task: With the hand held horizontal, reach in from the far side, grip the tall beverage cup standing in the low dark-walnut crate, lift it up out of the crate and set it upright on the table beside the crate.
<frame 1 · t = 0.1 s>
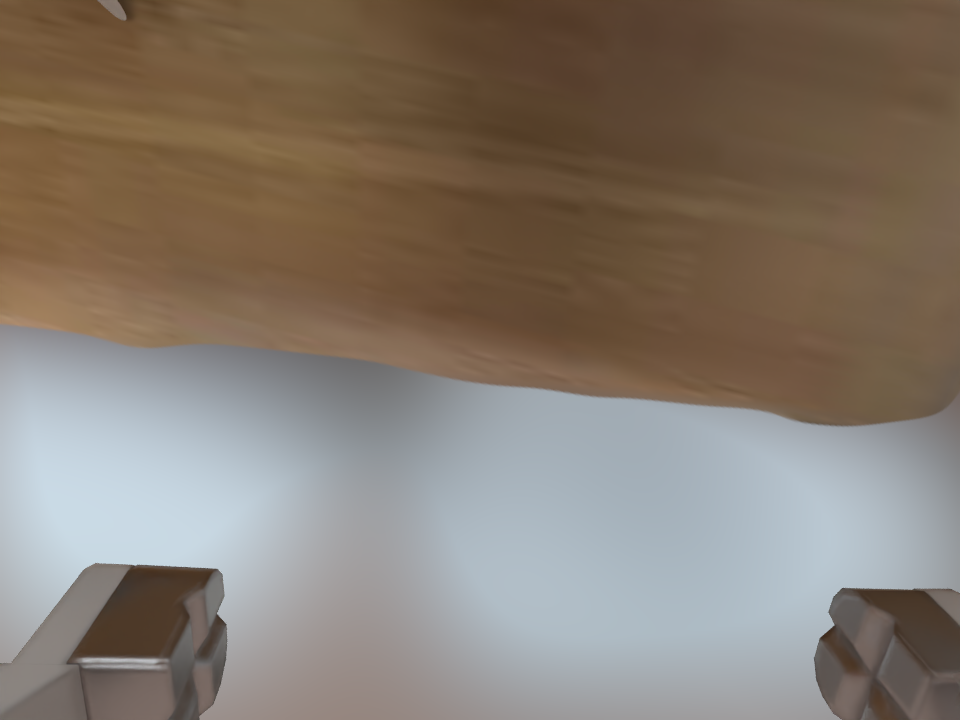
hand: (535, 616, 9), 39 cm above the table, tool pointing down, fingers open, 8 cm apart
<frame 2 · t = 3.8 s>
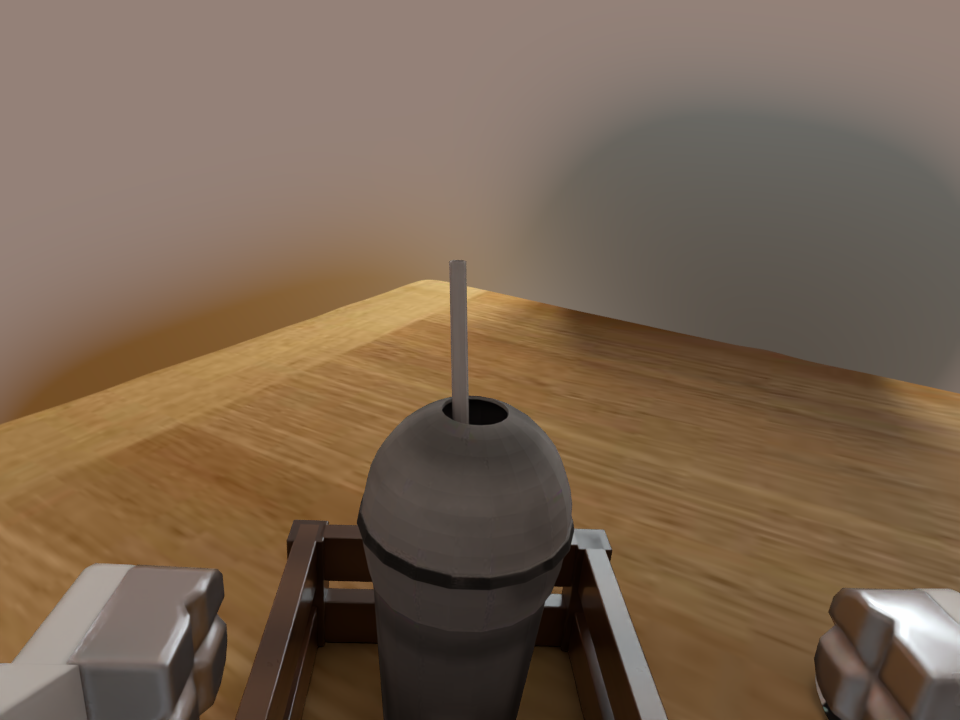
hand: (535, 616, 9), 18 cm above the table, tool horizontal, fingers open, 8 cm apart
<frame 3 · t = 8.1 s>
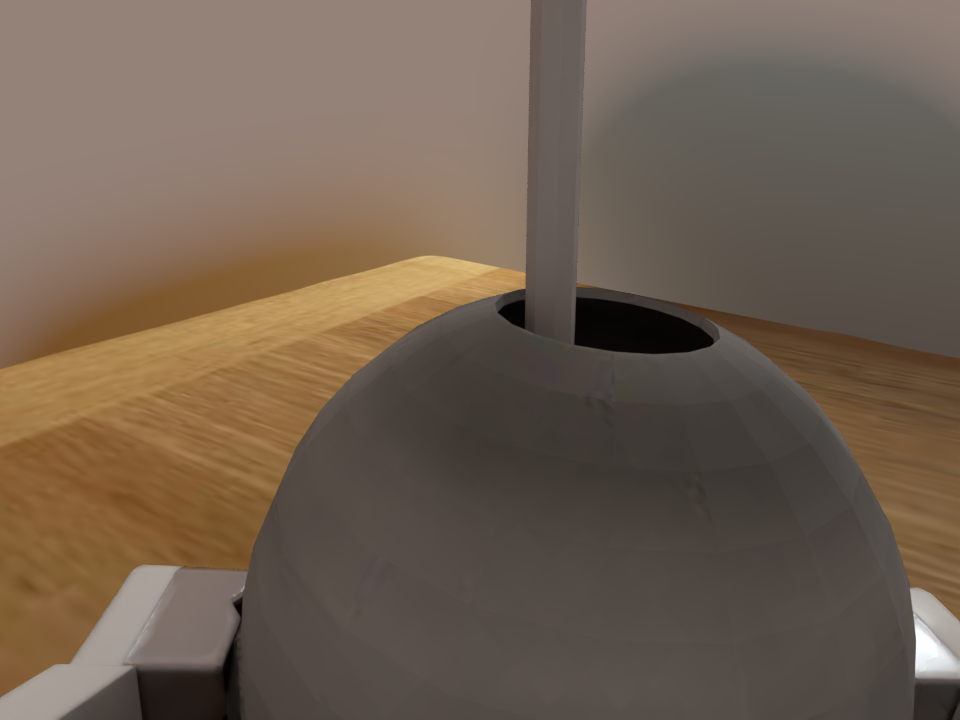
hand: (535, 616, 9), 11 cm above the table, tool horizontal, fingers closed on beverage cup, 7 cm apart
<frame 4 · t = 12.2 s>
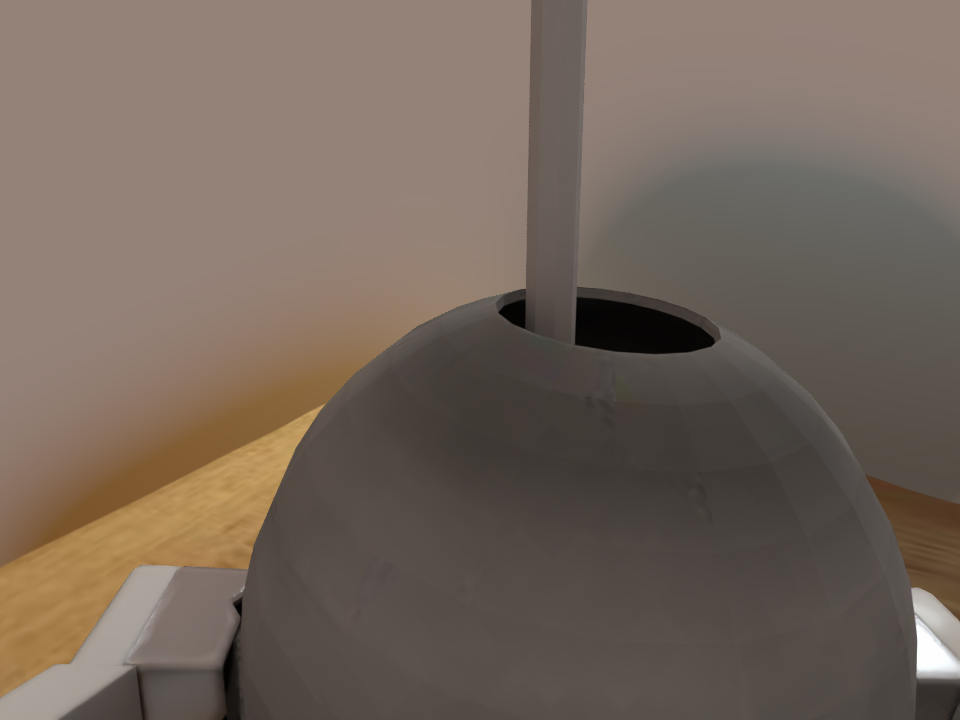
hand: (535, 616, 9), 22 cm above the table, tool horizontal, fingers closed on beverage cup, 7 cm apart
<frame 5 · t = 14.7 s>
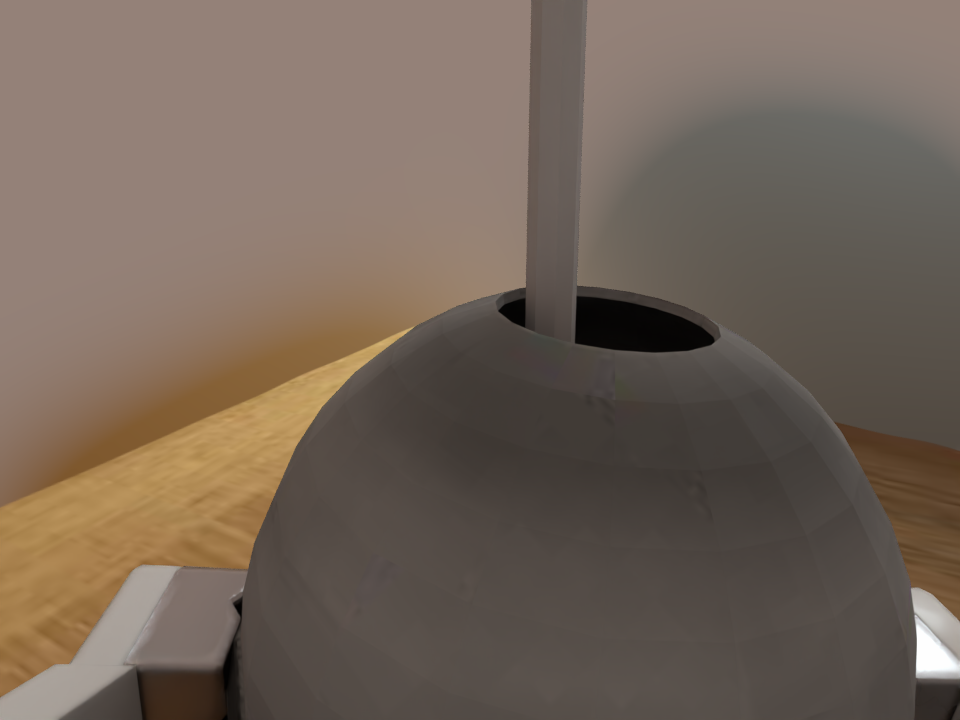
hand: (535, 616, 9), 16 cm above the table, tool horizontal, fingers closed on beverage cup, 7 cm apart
when the fingers open (11 cm above the table, at t = 16.7 s): beverage cup stays where it is, on the table.
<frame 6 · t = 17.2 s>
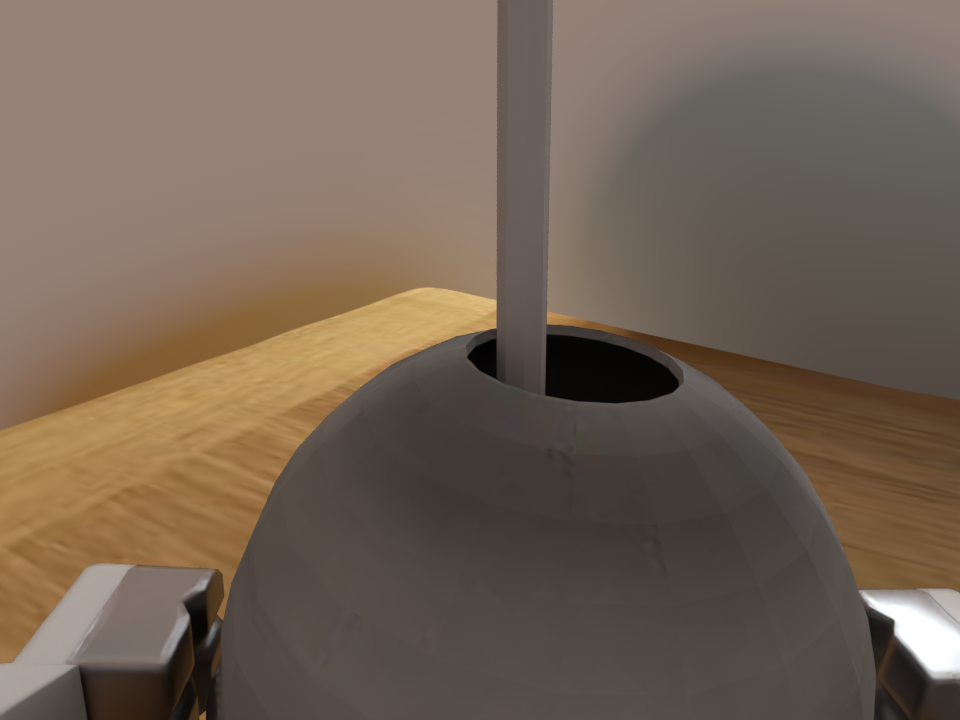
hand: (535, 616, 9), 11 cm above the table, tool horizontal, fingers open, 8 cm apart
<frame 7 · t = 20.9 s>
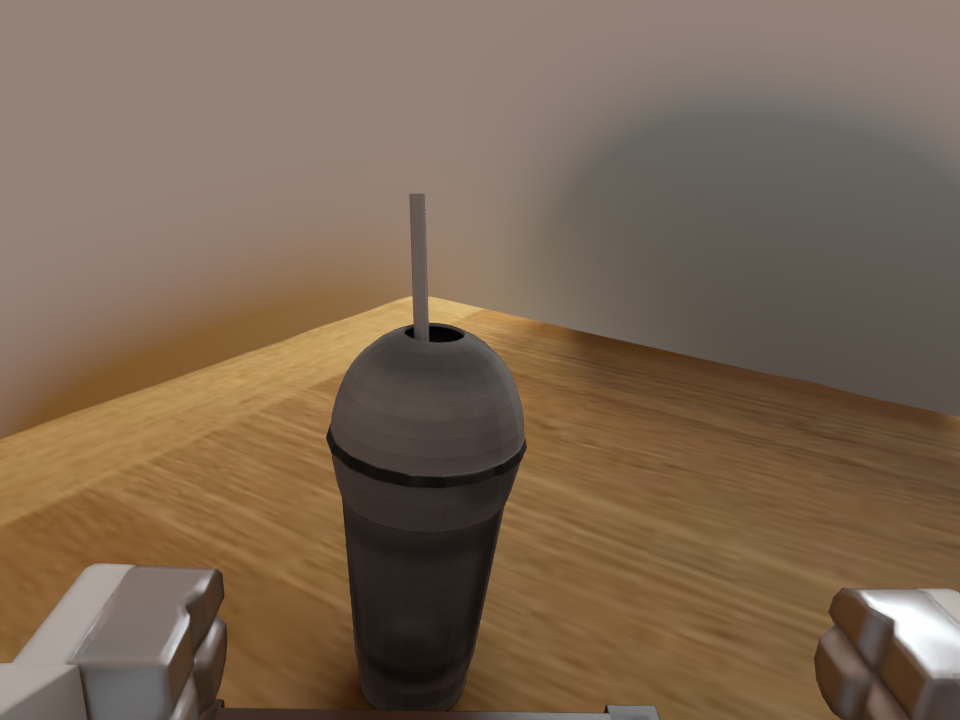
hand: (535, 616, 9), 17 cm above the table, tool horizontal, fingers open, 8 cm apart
beverage cup: (412, 678, 29), on the table
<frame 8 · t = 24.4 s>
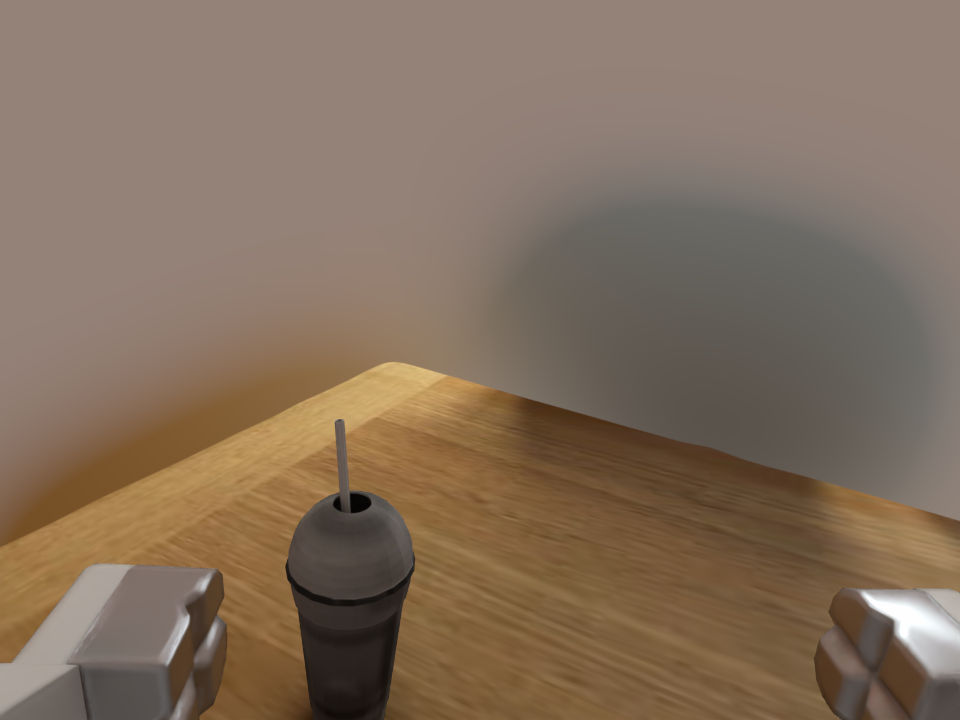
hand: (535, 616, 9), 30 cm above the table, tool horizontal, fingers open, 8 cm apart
beverage cup: (349, 714, 42), on the table
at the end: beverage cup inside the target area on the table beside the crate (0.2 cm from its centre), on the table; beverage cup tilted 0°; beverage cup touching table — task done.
